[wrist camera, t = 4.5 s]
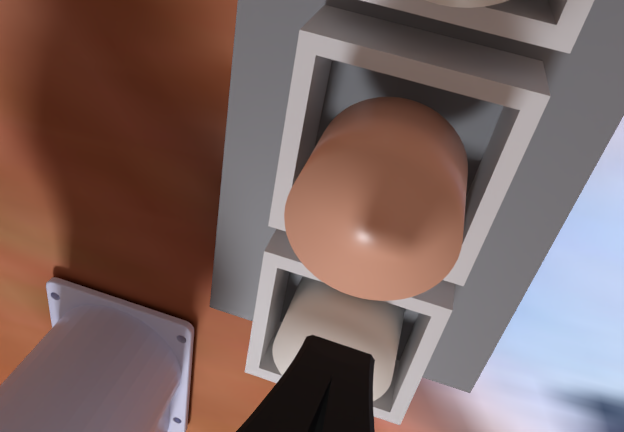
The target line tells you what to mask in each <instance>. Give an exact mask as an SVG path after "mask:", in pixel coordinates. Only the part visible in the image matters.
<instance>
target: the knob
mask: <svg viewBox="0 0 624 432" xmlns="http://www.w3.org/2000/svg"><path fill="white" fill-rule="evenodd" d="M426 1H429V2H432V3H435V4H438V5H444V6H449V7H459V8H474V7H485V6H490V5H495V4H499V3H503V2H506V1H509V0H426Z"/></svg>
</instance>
